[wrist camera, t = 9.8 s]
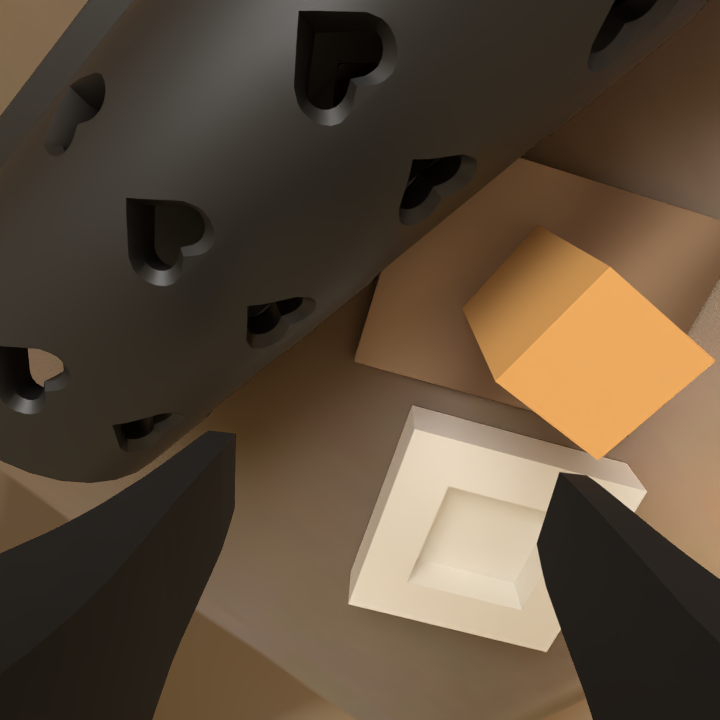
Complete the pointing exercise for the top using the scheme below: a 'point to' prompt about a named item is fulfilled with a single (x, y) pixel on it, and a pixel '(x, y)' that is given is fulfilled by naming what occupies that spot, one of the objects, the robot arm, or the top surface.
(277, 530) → the top surface
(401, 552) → the socket block
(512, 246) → the pad
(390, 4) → the muzzle brake
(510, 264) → the plug
